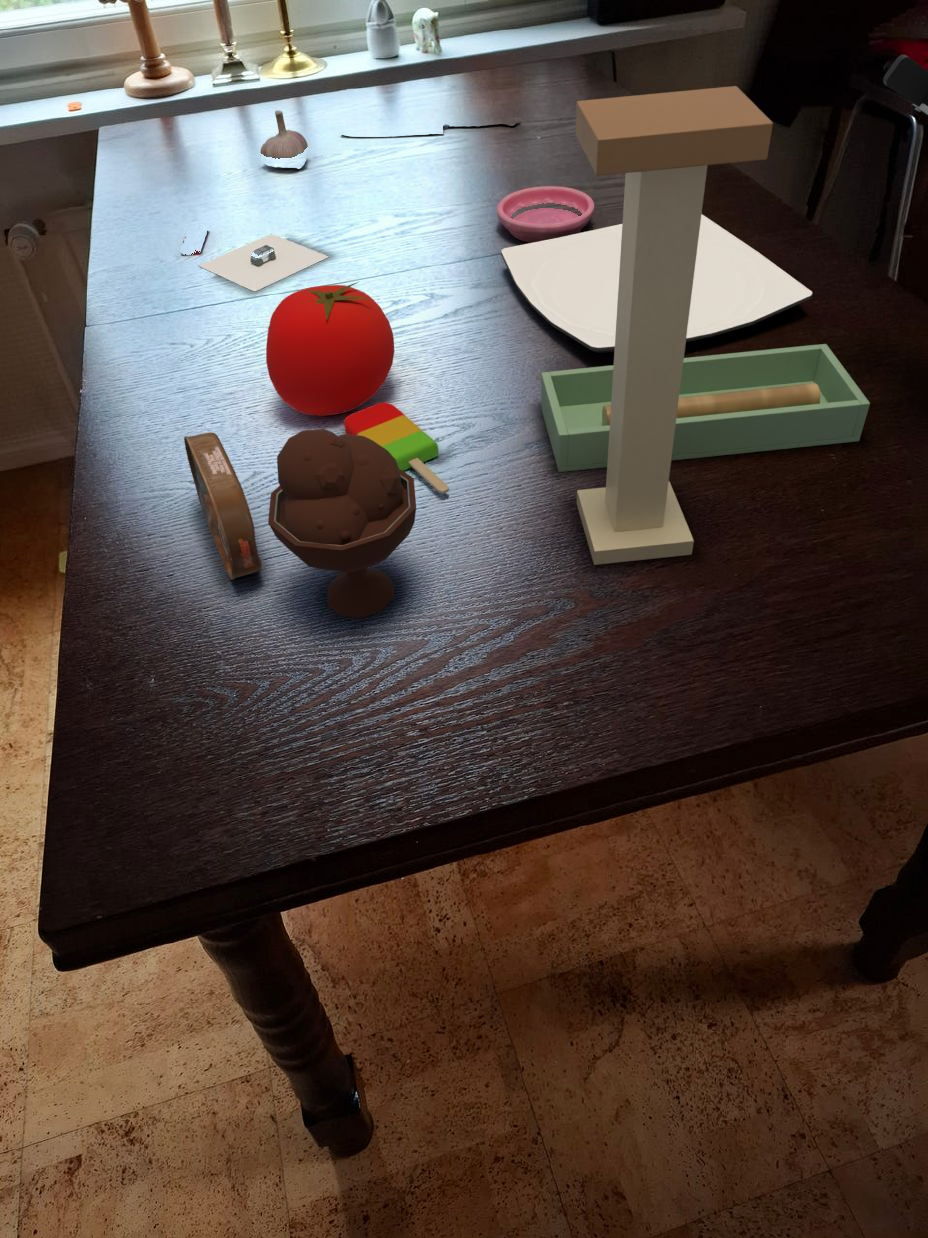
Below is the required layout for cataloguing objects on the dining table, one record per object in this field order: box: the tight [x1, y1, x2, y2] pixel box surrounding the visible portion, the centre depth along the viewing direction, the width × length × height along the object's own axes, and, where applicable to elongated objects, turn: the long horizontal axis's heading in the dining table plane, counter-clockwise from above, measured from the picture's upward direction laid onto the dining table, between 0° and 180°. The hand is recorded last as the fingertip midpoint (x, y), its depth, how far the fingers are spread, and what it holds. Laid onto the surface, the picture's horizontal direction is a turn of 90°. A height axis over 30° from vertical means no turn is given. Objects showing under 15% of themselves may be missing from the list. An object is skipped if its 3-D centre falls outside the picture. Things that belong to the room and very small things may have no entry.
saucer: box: [496, 185, 595, 243], centre depth 119 cm, size 12×12×3 cm
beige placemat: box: [198, 233, 330, 292], centre depth 117 cm, size 12×12×2 cm
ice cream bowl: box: [267, 428, 417, 619], centre depth 68 cm, size 11×11×15 cm
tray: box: [540, 343, 871, 473], centre depth 85 cm, size 28×11×4 cm, turn 95°
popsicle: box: [343, 401, 450, 494], centre depth 85 cm, size 6×15×2 cm, turn 33°
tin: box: [183, 432, 262, 580], centre depth 76 cm, size 15×3×8 cm, turn 24°
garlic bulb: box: [260, 109, 309, 159], centre depth 138 cm, size 8×7×8 cm
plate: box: [500, 213, 813, 354], centre depth 105 cm, size 29×29×3 cm
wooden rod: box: [602, 383, 820, 426], centre depth 86 cm, size 20×2×2 cm, turn 96°
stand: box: [575, 85, 774, 566], centre depth 65 cm, size 10×8×32 cm
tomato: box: [265, 281, 395, 417], centre depth 90 cm, size 12×14×11 cm
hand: (916, 84), depth 67 cm, fingers open, 8 cm apart
